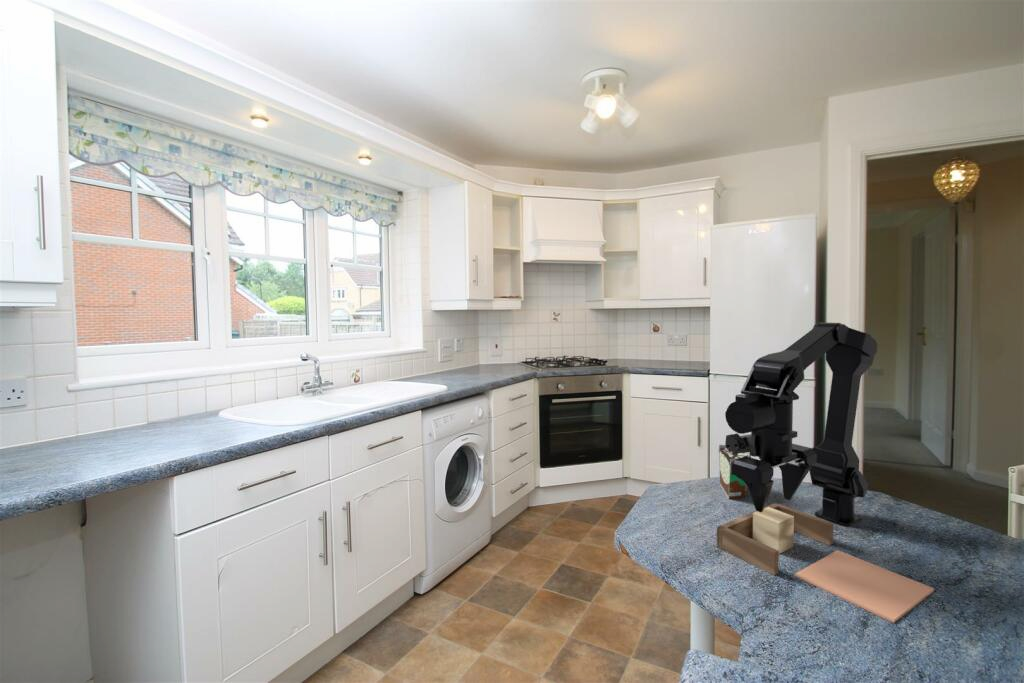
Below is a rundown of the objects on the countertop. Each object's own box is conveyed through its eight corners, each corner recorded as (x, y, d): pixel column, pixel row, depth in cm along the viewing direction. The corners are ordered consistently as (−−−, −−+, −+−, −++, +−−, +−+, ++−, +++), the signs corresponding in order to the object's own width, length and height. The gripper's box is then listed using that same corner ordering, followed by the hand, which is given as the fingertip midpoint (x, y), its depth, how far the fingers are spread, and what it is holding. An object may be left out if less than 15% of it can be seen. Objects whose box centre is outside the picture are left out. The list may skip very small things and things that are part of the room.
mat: (837, 552, 87) (837, 550, 87) (933, 590, 75) (934, 588, 75) (794, 576, 80) (794, 573, 80) (893, 622, 68) (893, 620, 68)
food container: (758, 503, 109) (759, 460, 108) (730, 501, 110) (730, 459, 109) (744, 483, 121) (744, 444, 120) (718, 481, 122) (718, 444, 121)
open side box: (775, 521, 100) (775, 502, 100) (833, 543, 90) (833, 523, 90) (716, 547, 90) (716, 526, 90) (774, 575, 81) (774, 552, 80)
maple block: (767, 536, 94) (768, 506, 94) (793, 546, 90) (794, 516, 89) (752, 543, 92) (753, 513, 91) (778, 554, 87) (778, 523, 87)
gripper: (763, 410, 100) (762, 481, 102) (705, 424, 91) (705, 502, 92) (818, 420, 91) (817, 499, 92) (760, 437, 81) (759, 524, 83)
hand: (773, 505), depth 90 cm, fingers open, 9 cm apart
